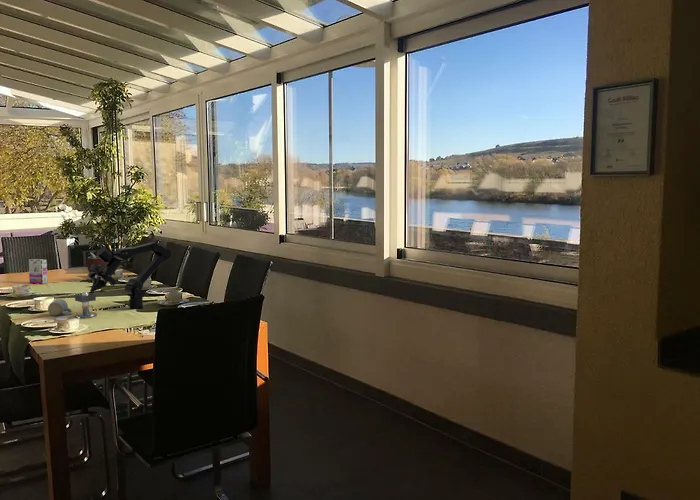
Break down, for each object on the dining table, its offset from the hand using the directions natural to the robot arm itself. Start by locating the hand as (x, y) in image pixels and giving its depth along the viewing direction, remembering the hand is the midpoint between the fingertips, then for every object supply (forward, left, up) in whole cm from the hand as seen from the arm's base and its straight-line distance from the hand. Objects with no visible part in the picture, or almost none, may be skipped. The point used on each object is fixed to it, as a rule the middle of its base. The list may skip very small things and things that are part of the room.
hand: (90, 291), depth 302 cm
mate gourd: (-5, -122, -12) cm, 122 cm away
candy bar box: (+32, -127, -12) cm, 131 cm away
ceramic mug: (+15, -8, -12) cm, 21 cm away
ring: (+3, +1, -4) cm, 5 cm away
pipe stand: (+3, +1, -12) cm, 12 cm away
